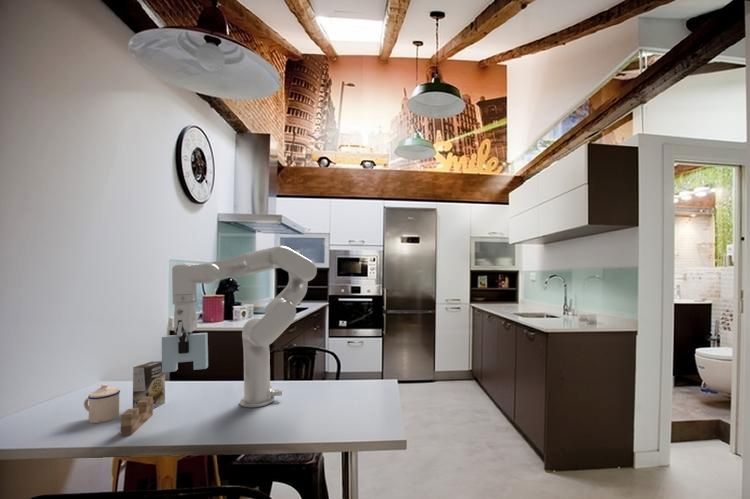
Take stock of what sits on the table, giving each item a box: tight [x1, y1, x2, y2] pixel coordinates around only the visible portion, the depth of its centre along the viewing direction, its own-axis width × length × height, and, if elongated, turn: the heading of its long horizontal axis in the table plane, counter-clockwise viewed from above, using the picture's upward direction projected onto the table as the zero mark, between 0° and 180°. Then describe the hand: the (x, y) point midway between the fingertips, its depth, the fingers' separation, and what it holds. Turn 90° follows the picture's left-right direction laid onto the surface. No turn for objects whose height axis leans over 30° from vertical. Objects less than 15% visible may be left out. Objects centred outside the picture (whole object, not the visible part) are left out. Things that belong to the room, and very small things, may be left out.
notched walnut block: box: [120, 396, 154, 437], centre depth 121 cm, size 16×3×6 cm, turn 11°
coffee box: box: [132, 360, 166, 409], centre depth 137 cm, size 9×6×16 cm
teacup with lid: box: [83, 383, 121, 424], centre depth 127 cm, size 12×9×12 cm
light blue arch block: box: [161, 332, 209, 373], centre depth 126 cm, size 14×3×12 cm, turn 101°
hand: (185, 351), depth 126 cm, fingers closed on light blue arch block, 3 cm apart
